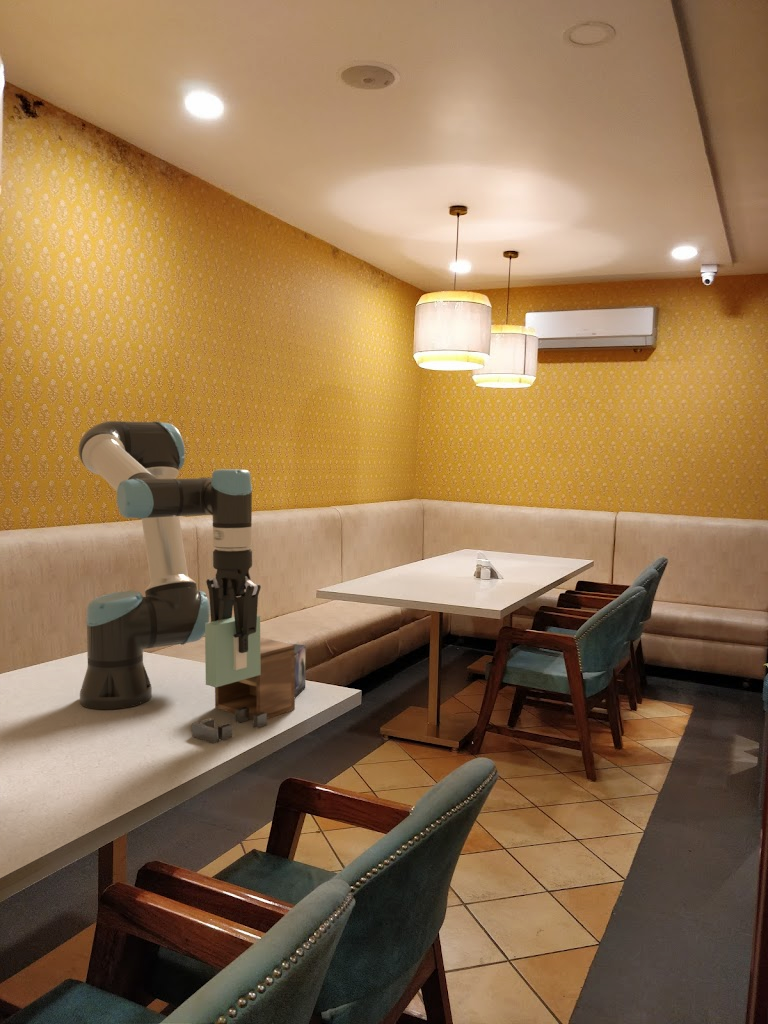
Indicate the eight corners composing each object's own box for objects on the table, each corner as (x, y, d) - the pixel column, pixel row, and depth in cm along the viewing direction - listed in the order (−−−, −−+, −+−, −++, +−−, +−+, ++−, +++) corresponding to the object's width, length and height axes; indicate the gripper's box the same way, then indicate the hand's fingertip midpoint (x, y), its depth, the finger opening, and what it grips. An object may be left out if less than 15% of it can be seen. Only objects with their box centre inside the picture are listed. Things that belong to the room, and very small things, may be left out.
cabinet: (215, 707, 174) (214, 643, 173) (250, 696, 182) (249, 635, 181) (260, 721, 166) (259, 653, 165) (294, 709, 173) (294, 644, 172)
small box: (293, 701, 179) (292, 654, 178) (265, 699, 180) (264, 653, 180) (307, 688, 189) (307, 643, 189) (280, 686, 191) (280, 642, 190)
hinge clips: (192, 736, 157) (192, 723, 157) (245, 718, 167) (245, 706, 167) (213, 743, 153) (213, 730, 153) (266, 725, 163) (266, 712, 163)
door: (205, 684, 156) (204, 623, 156) (250, 672, 165) (249, 614, 165) (216, 687, 155) (215, 625, 154) (260, 674, 164) (260, 615, 163)
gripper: (190, 547, 160) (192, 664, 162) (246, 553, 150) (247, 677, 152) (220, 543, 166) (221, 656, 168) (275, 549, 156) (276, 669, 158)
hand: (233, 666), depth 160 cm, fingers closed on door, 3 cm apart
